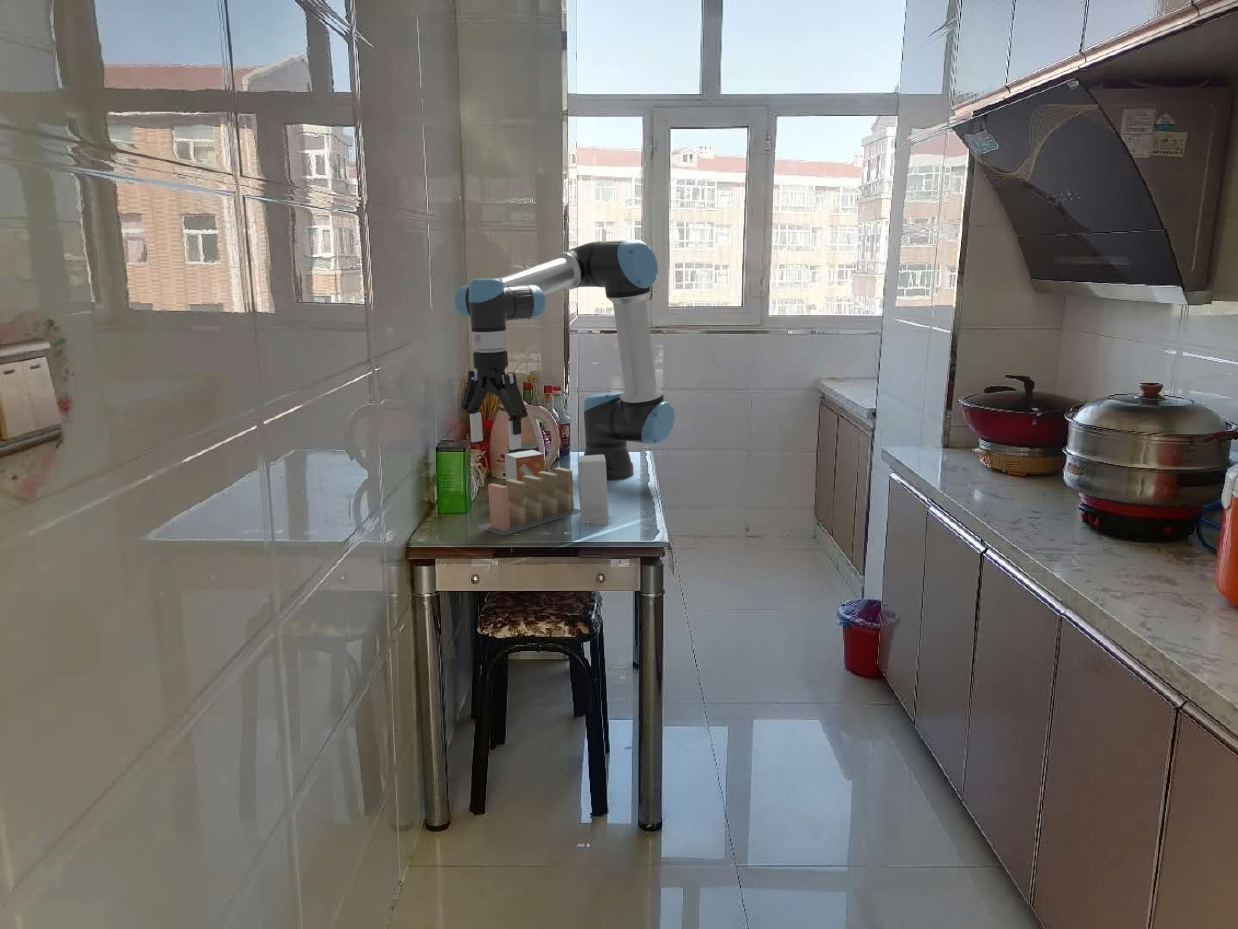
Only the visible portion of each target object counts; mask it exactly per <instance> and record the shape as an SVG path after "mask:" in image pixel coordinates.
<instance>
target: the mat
mask: <svg viewBox="0 0 1238 929" xmlns="http://www.w3.org/2000/svg"><path fill="white" fill-rule="evenodd" d="M558 510H559V515H556V516H551V515H547V514H543V520H539V521H536V520H533V519H529V518H527V524H526V525H522V526H521V525H517V524H513V523H510V529H509V530H505V531H503V530H500V529H497V528H493V527H491V524H490V523H489V522H488V523H486V524H483V525H479V526H477V528H478V529H481V530H485V531H489V532H491V533H495V534H498V535H502V536H506V535H510V534H514V533H517V532H520V531H523V530H526V529H529V528H533V527H536V526H541V525H543V524H546V523H550V522H553V521H556V520H560V519H563V518H566V517H569V516H572V515H573V516H574V515H577V514H581V512H580V508H579V509H578V508H575V507H574V510H573V511H570V512H568V511H564V510H561V509H558Z"/></svg>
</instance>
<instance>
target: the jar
mask: <svg viewBox="0 0 1238 929" xmlns="http://www.w3.org/2000/svg"><path fill="white" fill-rule="evenodd" d="M539 446H540V445H539V444H538V443H534V442H521V448H519V449H514V450H510V448H509V446H507V451H508V453H507V454H509V453H515V452H521V451H529V450H535V451H538V452H540V447H539Z"/></svg>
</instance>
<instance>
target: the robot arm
mask: <svg viewBox="0 0 1238 929" xmlns="http://www.w3.org/2000/svg"><path fill="white" fill-rule="evenodd" d="M658 270H659V268H658V260H657V257H656V254H655V252H654V251H653V249H652V248H651V247H650V246H648V244H647V242H644V241H640V240H632V239H621V240H605V241H601V240H600V241H593V242H591V241H590V242H587V243H585V244H582V245H579V246H576V247H574V248H571V249H568V250H566V251H563V252H560V253H558V254H556V255H555V256H554V257H553V259H551V260H548V261H545V262H543V263H539V264H537V265H534V266H531V267H528V268H524V269H522V270H518V271H516V272H513V273H510V274H508V275H505V276H504V275H503V276H501V277H498V278H497V277H493V278H492V277H490V278H473V279H471V280H470V281H469V283H468V285H463V286H461V287H459V288H458V289H457V291H456V293H455V295H454V306H455V309H456V311H457V313H458V314H459V315H460V316H462V317H465V318H470V328H471V329H470V330H471V338H472V339H471V340H472V341H471V342H472V349H473V350H475V351H474V352H473V353H472V361H473V368H474V369H473V370H472V369H471V370H468V372H467V373H468V374H467V378H468V379H467V384H466V387H465V392H464V394H463V395H464V397H463V400H462V403H461V408H462V410H465V411H466V413H467V414H468V423H469V427H470V438H471V439H470V440H471V443H478V442H482V441H483V440H484V439H483V438H484V435H483V422H482V411H481V409H480V408H481V407H482V405H483V402H484V401H485V399H486V396H487V395H488V394H489V393H491V394H494V395H495V396H496V397H498V398H499V401H500V403H501V404H502V406H503V408H504V409H505V411H506V413H507V416H508V417H509V418H508V420H507V427H508V444H509V448H510V450H514V449H519V448H521V443H522V438H521V437H522V431H523V430H522V419H524V418H526V417H528V415H529V414H528V411H527V407H526V406H525V403H524V400H523V398H522V394H521V392H520V388H519V387H518V384H517V376H516V374H515V373H508V374H506V368H507V367H509V356H508V354H509V353H508V351H507V350H505V349H507V348H508V339H507V338H508V336H507V321H515V320H526V319H527V320H531V319H533V318H537V317H539V316H541V315H542V313H544V310H545V308H546V297H545V295H549V294H552V293H554V292H557V291H559V290H562V289H564V290H570V291H571V290H574V289H577V288H589V287H591V288H604V289H605V290H604V291H605V296H606V299H608V300H609V301H610V302H611V303H612V305H613V314H614V320H615V321H614V322H615V327H616V335H617V342H618V350H619V356H620V364H621V373H622V380H623V387H624V388H623V389H624V390H623V391H621V390H620V391H610V392H609V391H608V392H603V393H597V394H592V395H588V396H587V397H585V398H584V401H583V402H584V404H583V405H584V408H583V416H584V417H583V418H584V419H583V423H584V438H585V441H584V442H585V449H584V453H583V456H588V455H603V454H604V456H605V460H606V476H607V481H609V480H610V481H611V480H619V479H625V478H629V477H632V476H633V475H634V472H635V470H634V465H633V464H634V463H633V462H632V460H631V456H630V451H629V450H628V445H627V444H628V442H632V443H633V442H634V443H640V444H641V443H642V444H644V445H651V444H652V445H659V444H661V443H662V444H663V442H665V441H666V440H667V439H668V438H669V436H670V435H671V432H672V430H673V429H674V425H675V419H676V417H675V416H676V414H675V408H674V406H673V405H672V404H671V402H668V401H666V400H665V398H664V392H663V390H662V389H661V388H659V387H658V386H657V379H656V371H655V361H654V353H653V347H652V338H651V331H650V321H649V314H648V306H647V298H648V296H649V295H650V293H651V292H652V290H651V289H652V288H651V286H653V285H654V284H655V282H656V280H657V275H658V272H659V271H658ZM627 441H628V442H627Z"/></svg>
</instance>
